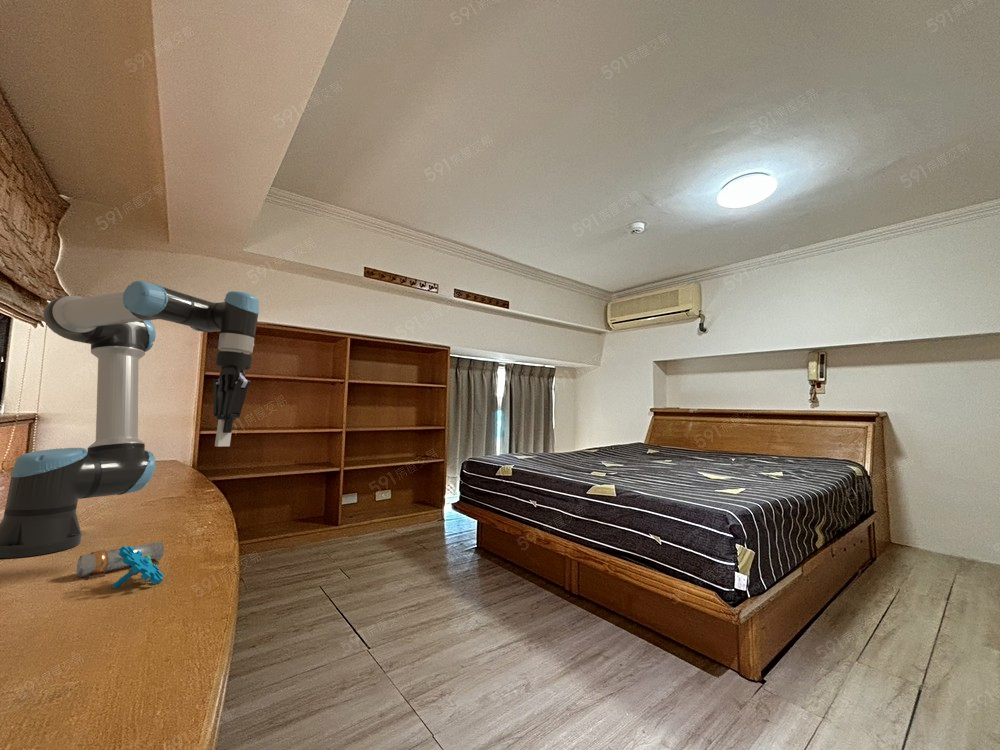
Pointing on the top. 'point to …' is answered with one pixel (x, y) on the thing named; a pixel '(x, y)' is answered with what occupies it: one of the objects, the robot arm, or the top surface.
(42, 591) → the top surface
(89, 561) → the guide pipe
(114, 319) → the robot arm
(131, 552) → the gear
